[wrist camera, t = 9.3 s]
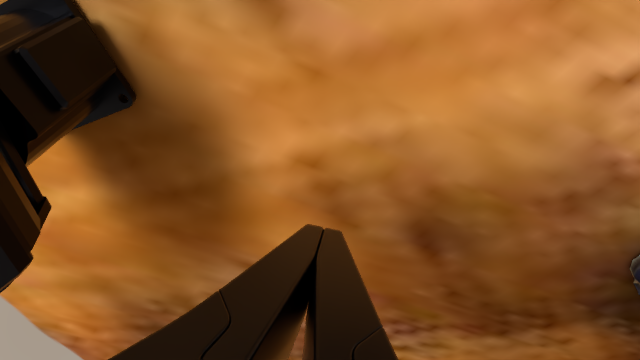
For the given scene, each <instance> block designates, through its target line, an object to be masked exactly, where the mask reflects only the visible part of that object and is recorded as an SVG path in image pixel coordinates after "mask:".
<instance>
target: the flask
mask: <svg viewBox="0 0 640 360" xmlns="http://www.w3.org/2000/svg"><path fill="white" fill-rule="evenodd" d="M630 271H631V273H632V274H631V275H633V277H634V285H635V287H636V289H637V291H638V294H639V295H640V255H639V256H638V257H637V258H636V259H633V260H632V264H631V267H630Z"/></svg>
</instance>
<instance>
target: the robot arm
mask: <svg viewBox="0 0 640 360" xmlns="http://www.w3.org/2000/svg"><path fill="white" fill-rule="evenodd" d="M122 94H123V95H125V96H126V97H127V98H128V100H127V99H125V98H124V97H123V95H122ZM135 102H136V94H135V92H134V91H133V89H132V88H131V86H130V85H129V84H128V82H127V81H126V79H125V78H124V76H123V75H122V73H121V72H120V70H119V69H118V68H117V66H116V65H115V63H114V62H113V60H112V59H111V57H110V56H109V55H108V53H107V52H106V50H105V49H104V47H103V46H102V44H101V43H100V41H99V40H98V39H97V37H96V36H95V34H94V33H93V31H92V30H91V28H90V27H89V26H88V24H87V23H86V21H85V20H84V18H83V17H82V15H81V14H80V12H79V11H78V10H77V8H76V7H75V5H74V4H73V2H72V1H71V0H8V1H6V2H4V3H3V4H1V5H0V293H1V292H2V291H3V290H5V289H6V288H7V287H8V286H9V285H10V284H11V283H12V282H13V281H14V280H15V279H16V278H17V277H18V276H19V275H20V274H21V273H22V272H23V271H24V270H25V269H26V268H27V267H28V266H29V265H30V263H31V261H32V260H33V255H32V253H31V252H30V251H31V250H32V249H33V247H34V245H35V243H36V240H37V238H38V236H39V234H40V230H41V228H42V226H43V224H44V222H45V220H46V218H47V216H48V214H49V212H50V210H51V205H50V203H49V201H48V200H47V198H46V197H45V196H43V195H42V194H41V192H40V190H39V188H38V187H37V185H36V183H35V181H34V179H33V178H32V176H31V174H30V172H29V171H28V169H27V167H28V166H29V165H30V164H31V163H32V162H34V161H35V160H36V159H37V158H38V157H40V156H41V155H42V154H43V153H44V152H45V151H47V150H48V149H49V148H50V147H51V146H53V145H54V144H55V143H56V142H57V141H59V140H60V139H61V138H62V137H63V136H65V135H66V134H67V133H68V132H69V131H71V130H73V129H75V128H78V127H80V126H83V125H85V124H88V123H90V122H93V121H95V120H98V119H100V118H103V117H106V116H108V115H111V114H113V113H116V112H118V111H121V110H123V109H126V108H128V107H130V106H131V105H133V104H134V103H135ZM307 307H308V309H307ZM306 310H307V316H306V325H305V337H304V349H303V360H398V358H397V356H396V354H395V352H394V350H393V348H392V345H391V343H390V341H389V339H388V337H387V334H386V332H385V330H384V328H383V326H382V324H381V321H380V319H379V317H378V315H377V312H376V310H375V308H374V305H373V303H372V301H371V298H370V296H369V294H368V291H367V289H366V287H365V285H364V282H363V280H362V278H361V275H360V273H359V271H358V268H357V266H356V264H355V261H354V259H353V257H352V255H351V252H350V250H349V248H348V245H347V243H346V241H345V238H344V236H343V234H342V232H341V231H339V230H335V229H330V228H325V229H323V228H322V227H320V226H315V225H311V224H307V225H305V226H304V227H303V228H301V229H300V230H299V231H297V232H296V233H295V234H293V235H292V236H291V237H289V238H288V239H287V240H285V241H284V242H283V243H281V244H280V245H279V246H277V247H276V248H275V249H273V250H272V251H271V252H269V253H268V254H267V255H265V256H264V257H263V258H261V259H260V260H259V261H257V262H256V263H255V264H253V265H252V266H251V267H249V268H248V269H247V270H245V271H244V272H243V273H241V274H240V275H239V276H237V277H236V278H235V279H233V280H232V281H231V282H229V283H228V284H227V285H225V286H224V287H223V288H221V289H220V290H219V291H217V292H215V293H214V294H213V295H211V296H210V297H209V298H207V299H206V300H205V301H203V302H202V303H200V304H199V305H197V306H196V307H195V308H193V309H192V310H190V311H189V312H187V313H186V314H184V315H182V316H181V317H179V318H178V319H176V320H174V321H173V322H171V323H170V324H168V325H166V326H165V327H163V328H161V329H159V330H158V331H156V332H154V333H153V334H151V335H149V336H148V337H146V338H144V339H142V340H141V341H139V342H137V343H136V344H134V345H132V346H130V347H129V348H127V349H125V350H124V351H122V352H120V353H118V354H117V355H115V356H113V357H112V358H110V359H108V360H288V358H289V355H290V353H291V350H292V348H293V345H294V342H295V340H296V337H297V335H298V332H299V330H300V327H301V324H302V322H303V319H304V316H305V314H306Z"/></svg>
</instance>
